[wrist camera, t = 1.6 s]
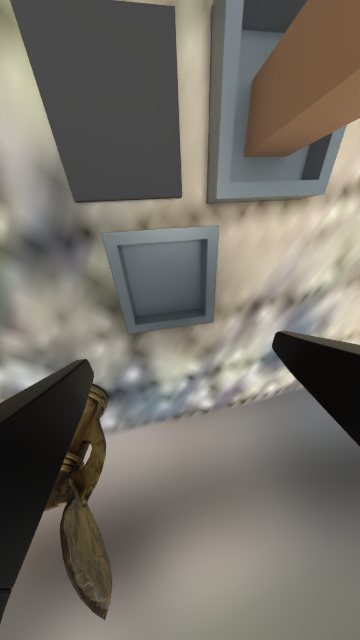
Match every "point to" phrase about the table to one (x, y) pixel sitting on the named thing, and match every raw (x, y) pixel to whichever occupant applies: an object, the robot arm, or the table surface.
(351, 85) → the orange block
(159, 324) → the empty tray
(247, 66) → the tray
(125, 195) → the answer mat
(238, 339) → the table surface
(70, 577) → the wooden mug
